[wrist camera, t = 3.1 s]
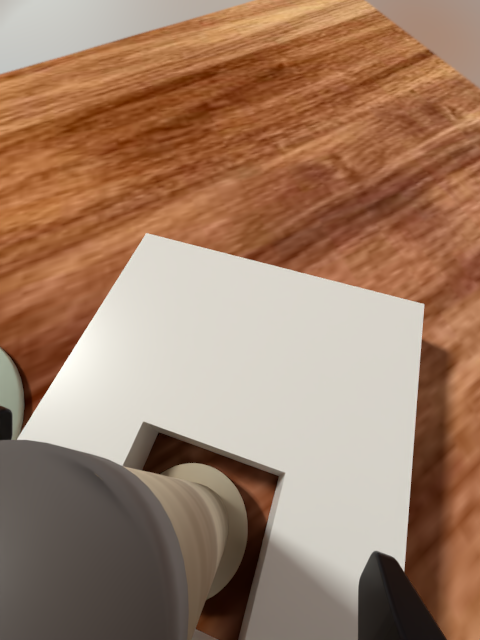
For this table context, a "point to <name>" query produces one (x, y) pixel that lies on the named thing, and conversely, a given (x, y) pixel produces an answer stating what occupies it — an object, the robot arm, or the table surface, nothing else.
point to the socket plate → (259, 411)
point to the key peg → (111, 545)
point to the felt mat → (11, 391)
